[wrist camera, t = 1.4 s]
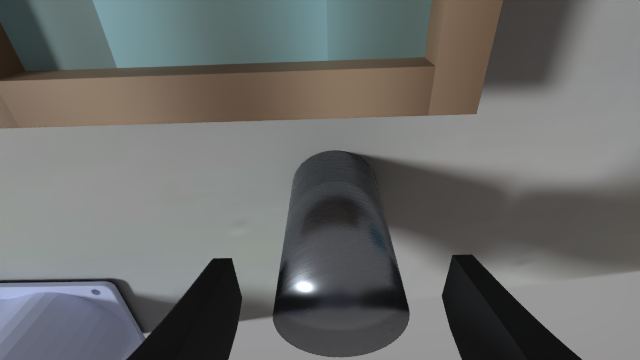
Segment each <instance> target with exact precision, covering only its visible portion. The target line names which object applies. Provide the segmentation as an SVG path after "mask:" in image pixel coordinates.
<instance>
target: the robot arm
mask: <svg viewBox="0 0 640 360" xmlns="http://www.w3.org/2000/svg"><path fill="white" fill-rule="evenodd" d="M442 299H443V303H444V307H445V311H446V315H447V318H448V322H449V326H450V329H451V332H452V334H453V337H454V340H455V343H456V345H457V348H458V350H459V353H460V356H461V358H462V360H582V359H581V358H580V357H578V356H577V355H576V354H575V353H574V352H572V351H571V350H570V349H569V348H568V347H567V346H565V345H564V344H563V343H562V342H561V341H560V340H559V339H558V338H556V337H555V336H554V335H553V334H552V333H551V332H550V331H549V330H547V329H546V328H545V327H544V326H543V325H542V324H541V323H540V322H539V321H538V320H537V319H535V317H534V316H532V315H531V314H530V313H529V312H528V311H527V310H526V309H525V308H524V307H523V306H522V305H521V304H520V303H519V302H518V301H517V300H516V299H515V298H514V297H513V296H512V295H511V294H510V293H509V292H508V291H507V290H506V289H505V288H504V287H503V286H502V285H501V284H500V283H499V282H498V281H497V280H496V279H495V278H494V277H493V276H492V275H491V274H490V273H489V272H488V271H487V270H486V269H485V268H484V267H483V265H482V264H481V263H480V262H479V261H478V260H477V259H476V258H475V257H474V256H473V255H452V259H451V263H450V267H449V271H448V275H447V278H446V282H445V286H444V290H443V294H442ZM241 302H242V296H241V292H240V288H239V285H238V281H237V277H236V273H235V269H234V265H233V261H232V258H214V259H212V260H211V262H210V263H209V264H208V265H207V267H206V268H205V269H204V270H203V272H202V273H201V274H200V276H199V277H198V278H197V279H196V281H195V282H194V283H193V284H192V286H191V287H190V288H189V289H188V291H187V292H186V293H185V294H184V296H183V297H182V298H181V299H180V300H179V301H178V303H177V304H176V305H175V306H174V307H173V309H172V310H171V311H170V312H169V313H168V315H167V316H166V317H165V318H164V319H163V320H162V321H161V323H160V324H159V325H158V326H157V327H156V328H155V329H154V330H153V331H152V332H151V334H150V335H149V336H148V337H147V338H146V339H145V337H144V335H143V334H142V332H141V330H140V328H139V327H138V325H137V323H136V321H135V319H134V318H133V316H132V314H131V312H130V311H129V309H128V307H127V305H126V304H125V302H124V300H123V298H122V297H121V295H120V293H119V291H118V289H117V288H116V286H115V285H114V284H113V283H111V282H106V281H101V282H41V283H0V360H228V359H229V355H230V352H231V348H232V345H233V341H234V338H235V334H236V330H237V325H238V320H239V314H240V308H241Z"/></svg>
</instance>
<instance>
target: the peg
mask: <svg viewBox="0 0 640 360" xmlns="http://www.w3.org/2000/svg"><path fill="white" fill-rule="evenodd" d="M409 314H410V313H409V307H408V303H407V299H406V295H405V291H404V287H403V284H402V280H401V276H400V272H399V268H398V264H397V260H396V256H395V252H394V249H393V245H392V241H391V237H390V233H389V229H388V225H387V221H386V217H385V214H384V210H383V206H382V202H381V198H380V194H379V190H378V186H377V182H376V179H375V175H374V173H373V171H372V169H371V168H370V166H369V165H368V164H367V163H366V162H365V161H364V160H363V159H361V158H360V157H358V156H356V155H354V154H352V153H348V152H344V151H326V152H322V153H319V154H316V155H314V156H312V157H310V158H309V159H307V160H306V161H305V162H303V163H302V165H301V166H300V167H299V168H298V170H297V171H296V173H295V176H294V179H293V185H292V191H291V198H290V204H289V211H288V218H287V224H286V231H285V238H284V244H283V251H282V257H281V264H280V271H279V277H278V284H277V291H276V297H275V304H274V310H273V322H274V325H275V327H276V329H277V331H278V333H279V334H280V335H281V336H282V337H283V338H284V339H285V340H286V341H287V342H289V343H290V344H291V345H293V346H295V347H297V348H299V349H301V350H303V351H306V352H309V353H312V354H316V355H321V356H328V357H351V356H358V355H363V354H368V353H371V352H374V351H377V350H379V349H382V348H384V347H386V346H387V345H389V344H391V343H392V342H394V341H395V340H396V339H397V338H398V337H399V336H400V335H401V334H402V333H403V331H404V330H405V329H406V327H407V325H408V321H409Z"/></svg>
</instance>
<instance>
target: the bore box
mask: <svg viewBox="0 0 640 360" xmlns="http://www.w3.org/2000/svg"><path fill="white" fill-rule="evenodd" d="M502 4H503V0H0V128H32V127H64V126H97V125H130V124H163V123H196V122H229V121H262V120H295V119H328V118H361V117H393V116H426V115H459V114H477V109H478V105H479V101H480V97H481V92H482V88H483V84H484V80H485V75H486V71H487V67H488V63H489V59H490V54H491V50H492V46H493V42H494V37H495V33H496V29H497V25H498V21H499V16H500V12H501V8H502Z"/></svg>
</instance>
